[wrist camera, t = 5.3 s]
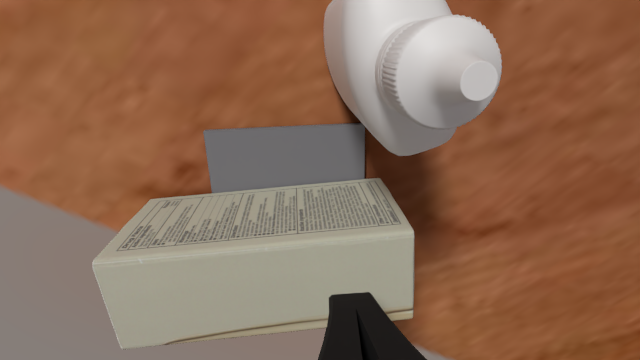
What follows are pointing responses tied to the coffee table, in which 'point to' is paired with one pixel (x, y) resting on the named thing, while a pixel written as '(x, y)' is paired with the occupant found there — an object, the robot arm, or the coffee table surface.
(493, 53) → the eye dropper bottle
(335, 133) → the mat
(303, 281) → the skincare box
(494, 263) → the coffee table surface
